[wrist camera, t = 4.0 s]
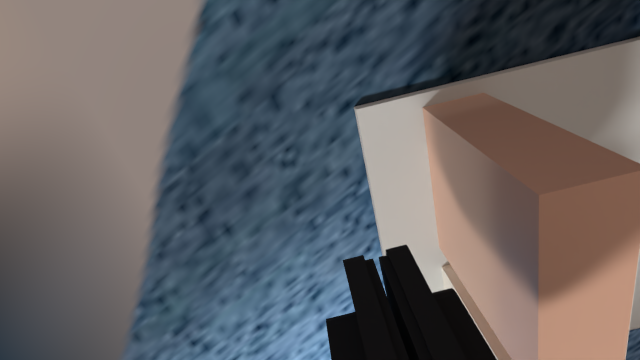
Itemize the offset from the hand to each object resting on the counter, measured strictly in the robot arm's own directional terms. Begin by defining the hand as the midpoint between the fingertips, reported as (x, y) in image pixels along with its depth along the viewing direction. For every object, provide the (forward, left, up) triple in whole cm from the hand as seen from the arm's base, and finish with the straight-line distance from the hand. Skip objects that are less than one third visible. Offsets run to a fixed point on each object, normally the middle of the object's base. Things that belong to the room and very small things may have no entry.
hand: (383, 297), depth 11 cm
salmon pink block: (0, -4, -5) cm, 7 cm away
